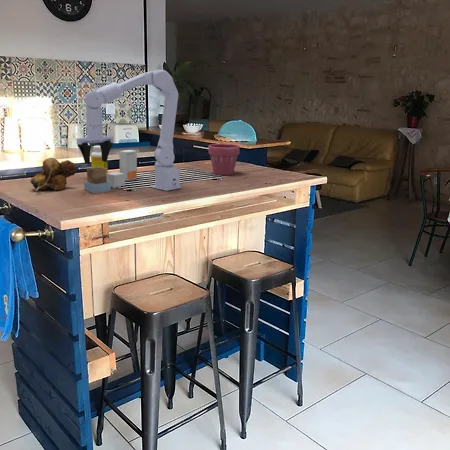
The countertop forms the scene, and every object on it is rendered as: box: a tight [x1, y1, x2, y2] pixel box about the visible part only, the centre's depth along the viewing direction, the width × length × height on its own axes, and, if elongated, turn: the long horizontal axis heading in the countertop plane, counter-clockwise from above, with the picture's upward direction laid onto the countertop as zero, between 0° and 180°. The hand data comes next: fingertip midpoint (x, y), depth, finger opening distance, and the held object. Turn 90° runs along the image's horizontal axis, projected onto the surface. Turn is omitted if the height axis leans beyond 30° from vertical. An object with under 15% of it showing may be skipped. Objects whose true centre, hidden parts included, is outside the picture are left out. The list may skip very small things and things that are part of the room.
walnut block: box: [86, 167, 107, 184], centre depth 186 cm, size 5×5×5 cm
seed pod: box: [30, 157, 79, 192], centre depth 186 cm, size 13×16×15 cm
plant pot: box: [207, 143, 241, 176], centre depth 227 cm, size 14×14×13 cm
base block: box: [83, 180, 112, 194], centre depth 187 cm, size 7×7×4 cm
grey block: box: [106, 171, 126, 189], centre depth 196 cm, size 5×5×5 cm
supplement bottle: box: [90, 145, 109, 173], centre depth 212 cm, size 7×7×13 cm
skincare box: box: [118, 149, 138, 182], centre depth 208 cm, size 6×4×12 cm
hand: (96, 162), depth 185 cm, fingers open, 7 cm apart
